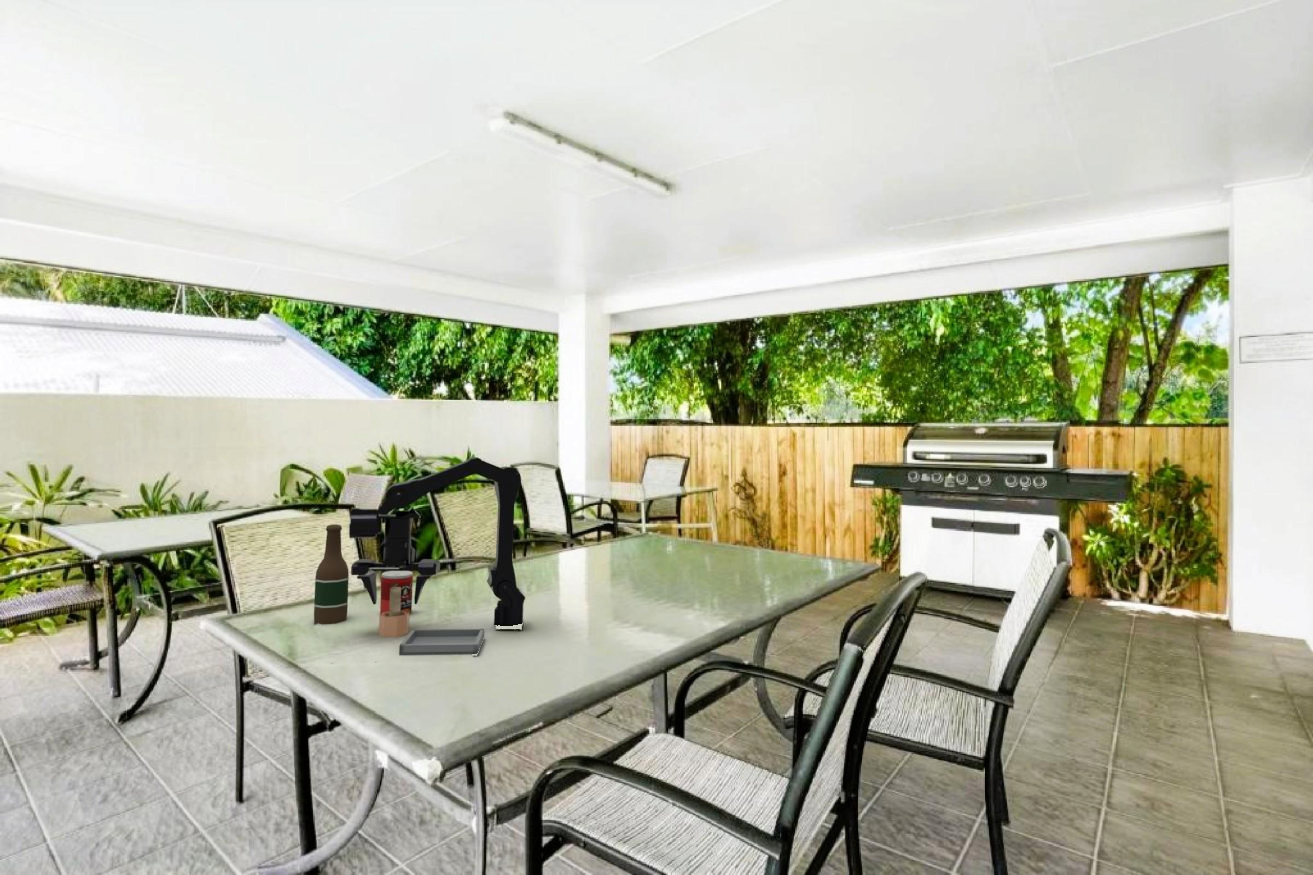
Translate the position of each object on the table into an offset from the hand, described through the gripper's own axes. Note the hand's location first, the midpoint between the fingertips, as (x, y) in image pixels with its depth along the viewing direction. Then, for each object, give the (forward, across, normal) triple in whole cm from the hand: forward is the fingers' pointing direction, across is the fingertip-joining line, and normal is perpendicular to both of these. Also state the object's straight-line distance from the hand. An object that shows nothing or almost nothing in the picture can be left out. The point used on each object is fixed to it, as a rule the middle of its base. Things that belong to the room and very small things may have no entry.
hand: (395, 603), depth 152 cm
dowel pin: (+7, 0, 0) cm, 7 cm away
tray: (+7, -13, +10) cm, 18 cm away
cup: (+7, 0, 0) cm, 7 cm away
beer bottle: (+8, +18, -12) cm, 23 cm away
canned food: (+8, +4, -18) cm, 20 cm away
